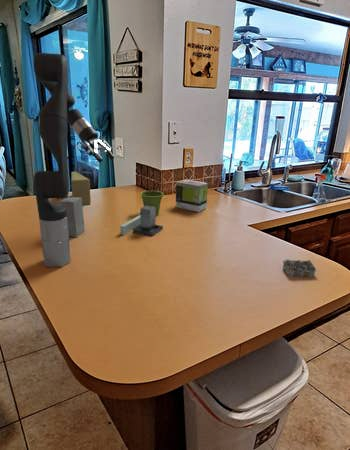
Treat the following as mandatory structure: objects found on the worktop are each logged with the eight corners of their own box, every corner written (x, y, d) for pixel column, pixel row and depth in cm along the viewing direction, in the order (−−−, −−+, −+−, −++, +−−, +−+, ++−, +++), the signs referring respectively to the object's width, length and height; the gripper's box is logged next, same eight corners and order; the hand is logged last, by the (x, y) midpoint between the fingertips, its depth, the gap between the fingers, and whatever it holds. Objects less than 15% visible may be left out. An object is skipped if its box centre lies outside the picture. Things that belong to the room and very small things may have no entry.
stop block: (150, 233, 152) (150, 210, 148) (140, 231, 154) (140, 208, 150) (155, 229, 156) (155, 207, 152) (145, 227, 158) (145, 205, 154)
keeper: (152, 236, 149) (152, 233, 148) (133, 232, 152) (133, 228, 152) (162, 229, 157) (162, 226, 157) (144, 225, 161) (144, 222, 160)
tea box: (206, 208, 190) (208, 182, 185) (198, 212, 182) (200, 186, 177) (184, 203, 197) (185, 178, 192) (174, 207, 189) (175, 181, 184)
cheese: (66, 195, 203) (64, 171, 197) (83, 194, 207) (81, 170, 201) (73, 206, 184) (71, 179, 179) (91, 204, 188) (89, 178, 183)
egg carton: (285, 276, 119) (287, 266, 118) (280, 267, 126) (282, 257, 125) (316, 278, 119) (318, 268, 117) (309, 268, 126) (311, 258, 124)
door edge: (124, 235, 149) (124, 226, 147) (120, 234, 149) (120, 225, 148) (146, 221, 166) (146, 213, 164) (142, 220, 167) (142, 213, 165)
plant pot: (159, 209, 184) (159, 189, 180) (165, 216, 173) (166, 195, 169) (138, 211, 180) (138, 190, 176) (143, 218, 170) (143, 197, 166)
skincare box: (76, 237, 144) (74, 202, 138) (61, 236, 145) (58, 200, 140) (85, 230, 152) (83, 197, 146) (71, 229, 153) (68, 195, 147)
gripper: (78, 126, 141) (102, 156, 140) (99, 124, 153) (121, 152, 152) (69, 138, 144) (92, 167, 144) (90, 135, 157) (112, 163, 156)
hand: (107, 160), depth 148 cm, fingers open, 8 cm apart
